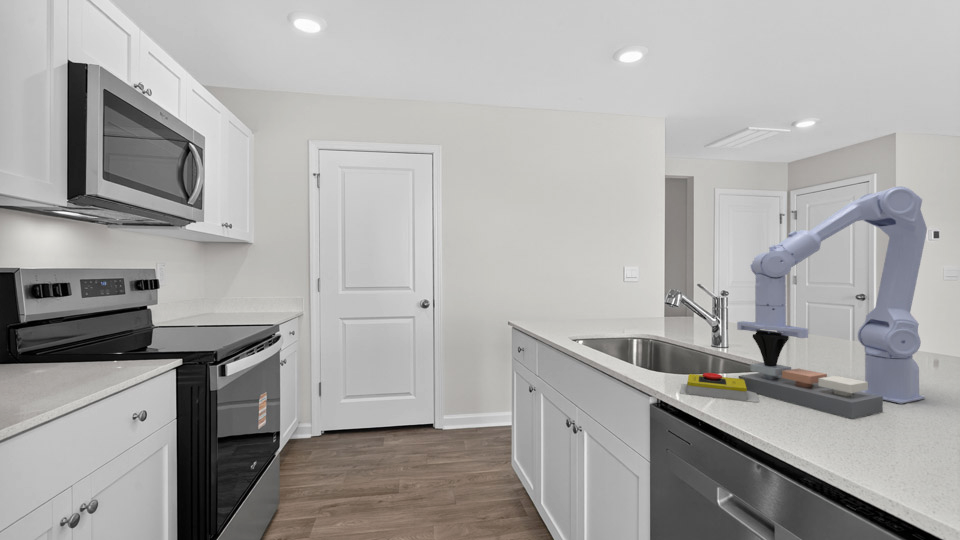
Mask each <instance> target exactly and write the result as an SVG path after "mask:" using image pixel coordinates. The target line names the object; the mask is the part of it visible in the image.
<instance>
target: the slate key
mask: <svg viewBox="0 0 960 540" xmlns="http://www.w3.org/2000/svg"><path fill="white" fill-rule="evenodd" d="M749 367H750V371H751V372H753V373H754V372H755V373H763V378H768V379H772V380H774V379H778V376H780V375H782V371H784V370H792V366H788V365H784V364H783V365H782V364H778V363H777V365H776V366H772V367H770V366H765V365H764V362H760V363H759V362H758V363H751V364H750V366H749Z"/></svg>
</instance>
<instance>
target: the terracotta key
mask: <svg viewBox="0 0 960 540" xmlns="http://www.w3.org/2000/svg"><path fill="white" fill-rule="evenodd" d="M824 377H828V373H824V372H818V371H812V370H808V369H803V368H793V369H792V368H791V370H784V371H782V378H785V379H790V380H794V381H796V385H798V386H803V387H812V384H814V383H818V378H824Z"/></svg>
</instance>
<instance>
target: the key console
mask: <svg viewBox="0 0 960 540" xmlns="http://www.w3.org/2000/svg"><path fill="white" fill-rule="evenodd" d="M738 379H743V380H744V381H745V384H746V387H747V391H750V392H754V393H756V394H757V395H759V396H764V397H768V398H771V399H775V400H779V401H783V402H786V403H790V404H792V405H793V404H794V405H797V406H801V407H805V408H809V409H812V410H817V411H820V412H823V413H828V414H831V415H835V416H839V417H842V418H846V419H850V420H854V419H859V418H863V417H866V416H871V415H875V414H881V413H883V411H884V410H883V409H884V405H883V401H884V400H883V396H879V395H874V394H869V393H865V392H854V393H852V396H842V395H838V394H834V389H830V388H826V387H821V386H818V383H814V384H812V387H803V386H798V385H796V381H794V380H790V379H785V378H782V375H780V376H778V379H774V380H772V379H768V378H763V373H758V372H755V373H748V374H743V375H738Z"/></svg>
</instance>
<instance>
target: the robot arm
mask: <svg viewBox="0 0 960 540" xmlns="http://www.w3.org/2000/svg"><path fill="white" fill-rule="evenodd" d="M922 202H923V198H921V197H920V196H919V195H918V194H916V192H914V191H913V190H912V189H910V188H909V187H906V186H894V187H890V188H888V189H885V190H881V191H876V192H874V193H872V192H871V193H866V194H864V195H862V196H861V197H859V198H858V199H855V200H853V201H851V202H849V203H847V204H846V205H845V206H843V207H842V208H840V209H838V210H837V211H835V212H834V213H833V214H832V215H830V216H829V217H827V218H826V219H824V220H823V221H821V222H820V223H818V224H817V225H815V226H814V227H813V228H811V229H810V230H806V229H805V230H804V229H800V230H798V231H796V230H793V231H791V232H789V233H787V237H786V238H785V239H784V240H782V241H781V242H779V243H777V244H772V245H770V246H768V249H769V252H767V251H766V252H761V253H759V254H757V255H756V256H755V257H754V258H753V260H752V263H751V264H750V269H751V271H752V273H753V274H754V276H755V285H754V286H755V287H754V288H755V290H754V291H755V292H754V293H755V295H754V297H755V298H754V302H755V303H754V305H755V306H754V307H755V308H754V309H755V310H754V311H755V314H754V315H755V321H754V322H753V321H744V320H742V321H737V324H736V325H737V329H736V330H738V331H748V332H749V331H750V332H755V334H754V333H753V334H752V338H753V340H754V341H755V344H756V345H757V347H758V350H759V352H760V354H761V356H762V360H763V363H764V365H765V366H770V367H772V366H776V365H777V364H778V361H779V357H780V354H781V352H782V350H783V348H784V346H785V345H786V343H787V342H788V341H789V339H790V337H795V338H799V339H807V338H809V329H808V328H805V327H797V326H793V325H788V324H787V306H786V304H787V302H786V301H787V299H786V298H787V294H786V292H787V289H786V288H787V285H786V282H787V281H786V276H787V275H788V274H789V273H790V272H791V270H792V268H793V267H795V266H796V265H798V264H799V263H801V262H802V261H804V260H806V259H807V258H809V257H811V256H812V255H813V254H816V253H817V252H818V251H820V249H821V244H822V242H823V241H825V240H827V239H828V238H830V237H832V236H834V235H836V234H837V233H839V232H840V231H842V230H844V229H845V228H848V227H849V226H851V225H853V224H854V223H856V222H860V221H862V222H866V223H868V224H869V225H871V226H874V227H876V228H878V229H880V230H881V231H882V232H883V233H885V234H886V235H887V236H888V237H889V239H888V244H887V248H886V253H885V258H884V262H883V268H882V272H881V273H882V274H881V276H880V277H881V278H880V283H879V287H878V293H877V298H876V302H875V303H876V304H875V307H874V308H873V309H872V310H871V311H870V312H868V314H867V315H865V321H864V322H863V324H862V325H861V326H860V327H859V329H858V331H857V339H858V341H859V343H860V344H861V345H862V346H863V347H864V352H865V353H864V367H865V368H864V381H865V382H868V390H865V391H860V392H865V393H869V394H874V395H879V396H883V401H887V402H893V403H896V404H907V403H910V402H915V401H920V400H925V399H926V395H921V394H920V367H919V365H918V363H917V361H915V360H914V357H913V356H914V355H915V354H916V353H917V352H918V351H919V350H920V347H921V337H920V334H919V322H918V321H917V319H916V318H915V317H914V316H913V315H912V313H911V310H912V305H913V300H914V296H915V291H916V285H917V280H918V277H919V276H918V275H919V270H920V266H921V261H922V256H923V251H924V247H925V243H926V238H927V231H928V230H927V229H928V228H927V227H928V226H927V225H926V222H925V219H924V218H925V217H924V216H923V213H922V210H921V209H922V208H921V207H922Z"/></svg>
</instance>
